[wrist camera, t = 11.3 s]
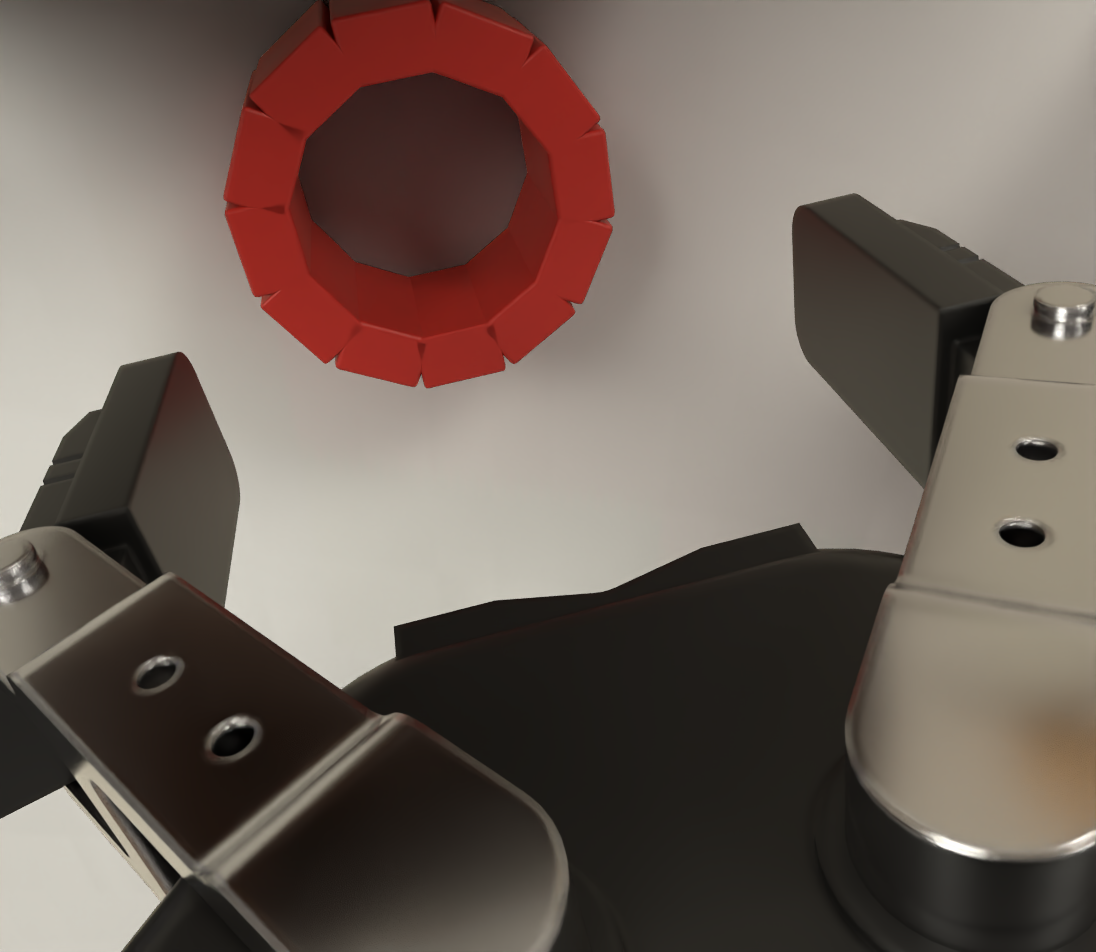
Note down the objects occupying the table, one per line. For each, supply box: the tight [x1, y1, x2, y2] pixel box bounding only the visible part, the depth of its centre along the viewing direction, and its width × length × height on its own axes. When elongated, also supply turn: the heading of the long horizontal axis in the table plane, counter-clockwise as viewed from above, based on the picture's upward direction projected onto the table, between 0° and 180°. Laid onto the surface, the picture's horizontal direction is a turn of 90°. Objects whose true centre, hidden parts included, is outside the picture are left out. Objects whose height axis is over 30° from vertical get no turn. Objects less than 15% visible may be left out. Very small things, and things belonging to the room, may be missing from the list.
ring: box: [223, 0, 615, 388], centre depth 17 cm, size 6×6×3 cm
